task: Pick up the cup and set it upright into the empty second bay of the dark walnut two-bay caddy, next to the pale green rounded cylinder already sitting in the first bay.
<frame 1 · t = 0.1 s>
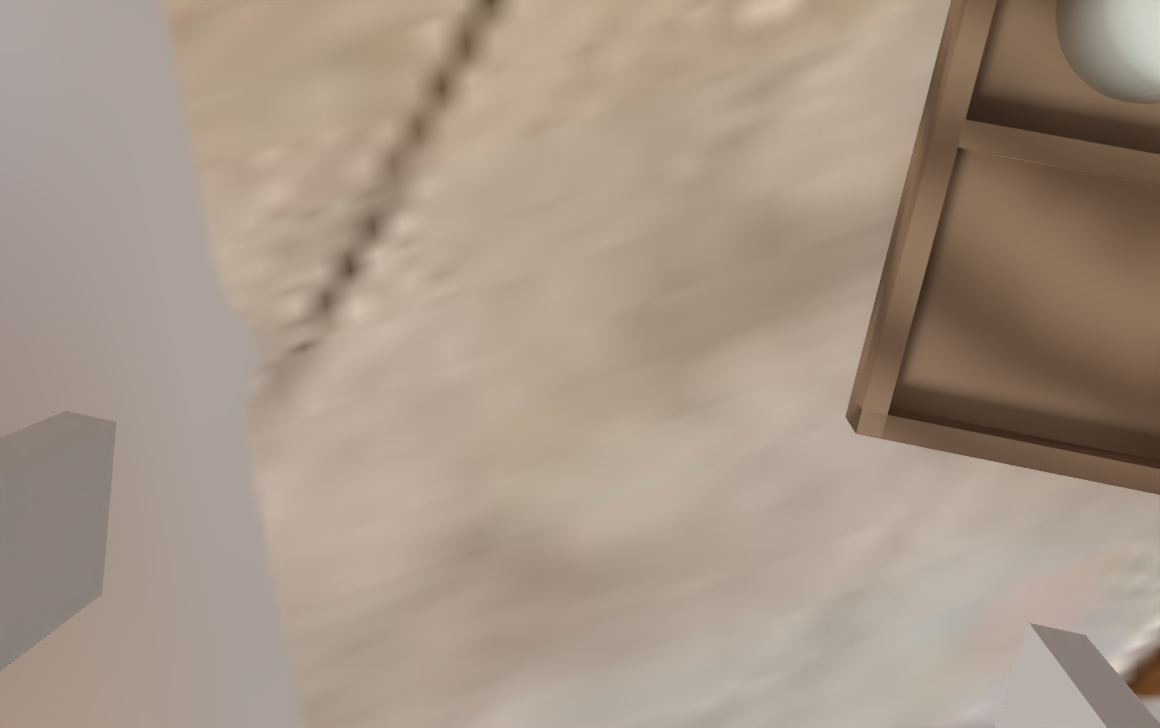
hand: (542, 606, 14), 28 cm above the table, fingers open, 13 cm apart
pale green rounded cylinder: (1155, 5, 35), point 1 cm above the table, touching caddy
caddy: (1097, 162, 38), on the table
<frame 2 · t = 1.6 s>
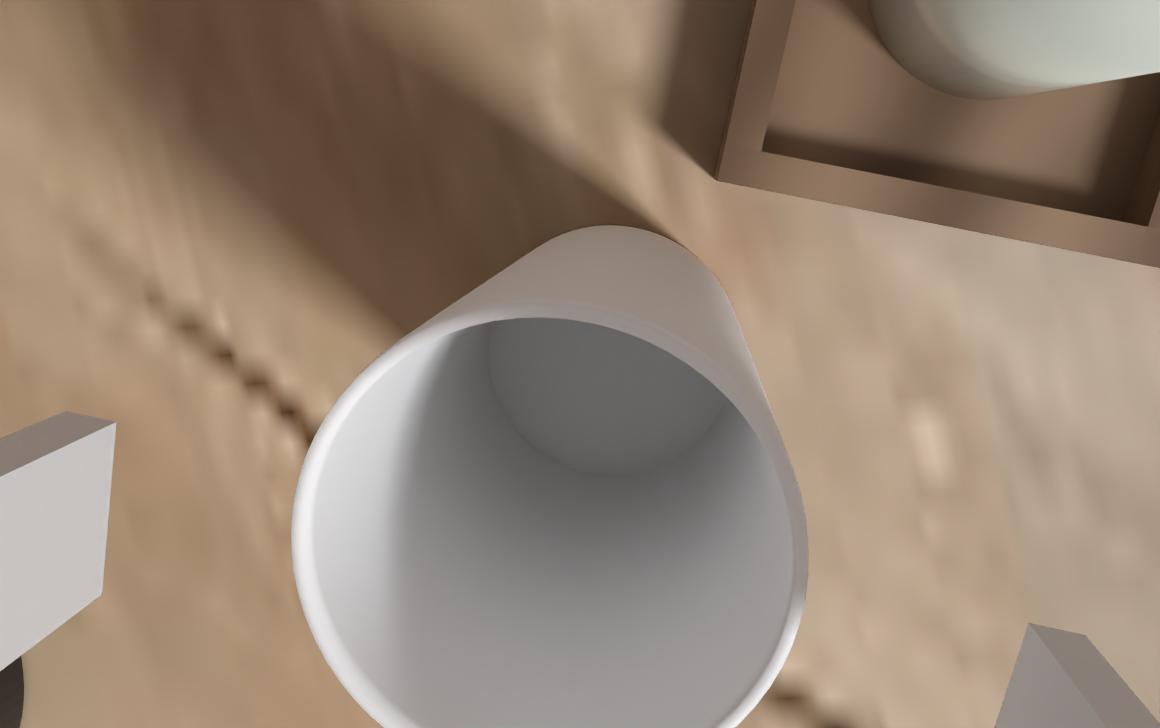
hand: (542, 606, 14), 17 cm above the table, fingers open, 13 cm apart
cup: (610, 354, 31), on the table
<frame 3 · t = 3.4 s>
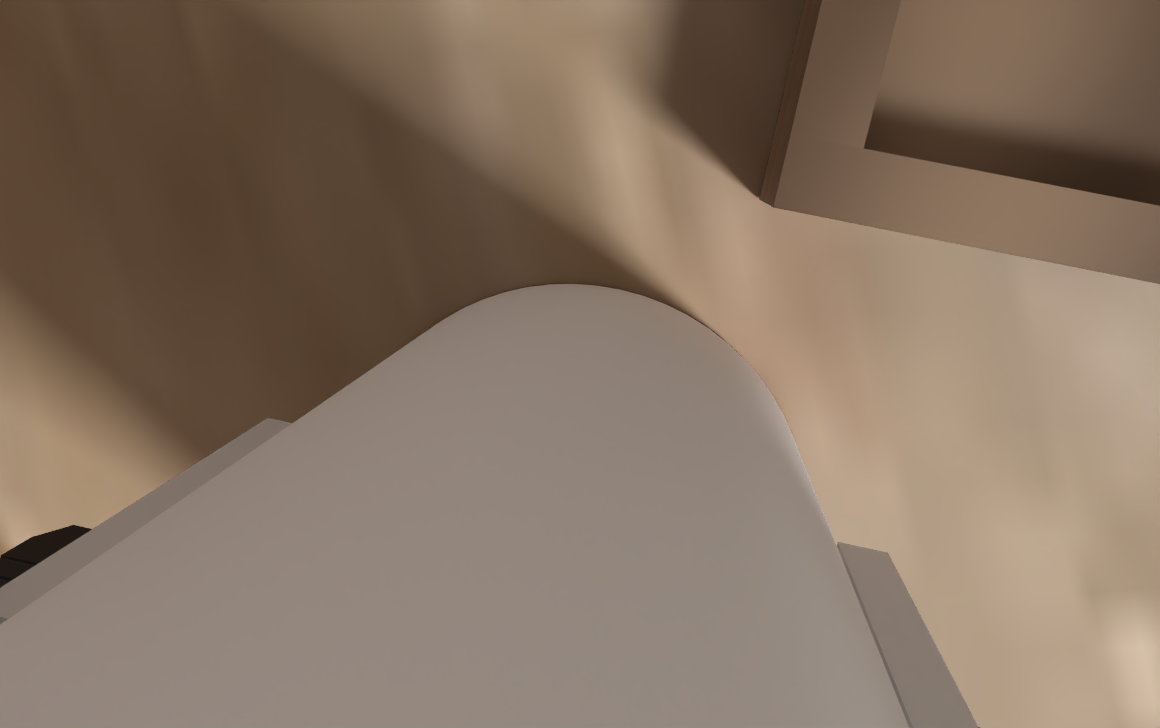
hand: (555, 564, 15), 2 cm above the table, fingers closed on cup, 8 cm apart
cup: (572, 507, 17), on the table, touching gripper
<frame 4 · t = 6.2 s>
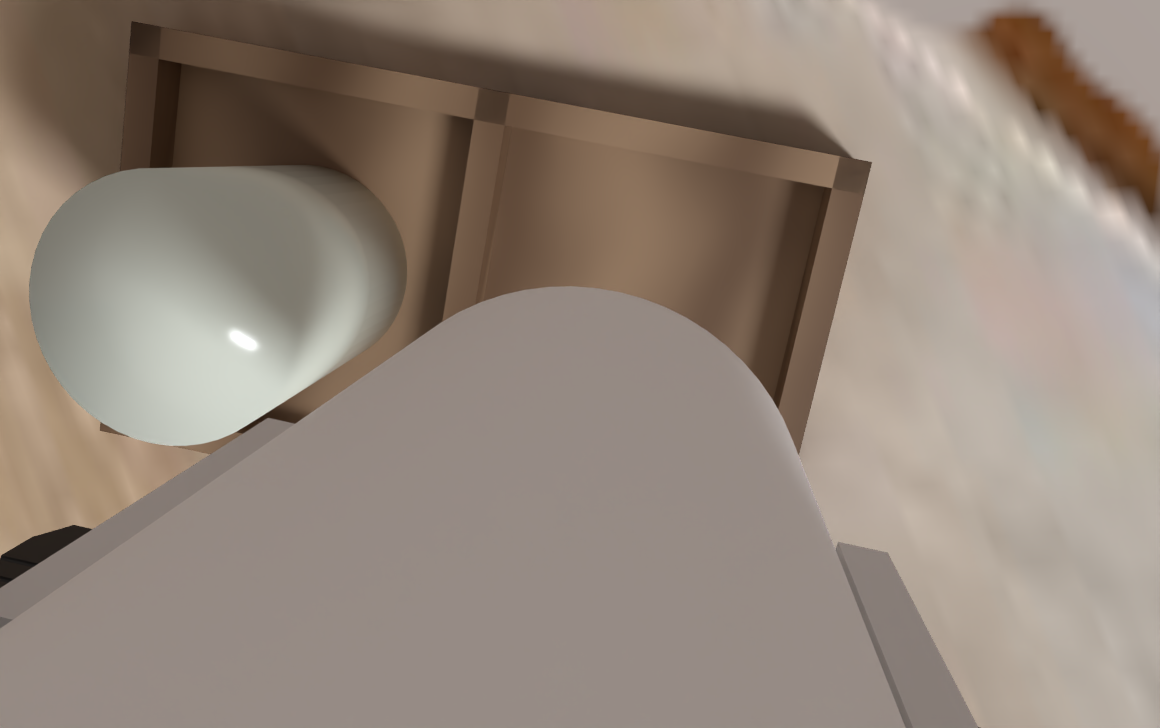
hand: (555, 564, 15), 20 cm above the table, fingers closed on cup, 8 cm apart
cup: (571, 510, 17), point 17 cm above the table, touching gripper
pale green rounded cylinder: (309, 266, 34), point 1 cm above the table, touching caddy
caddy: (474, 295, 34), on the table
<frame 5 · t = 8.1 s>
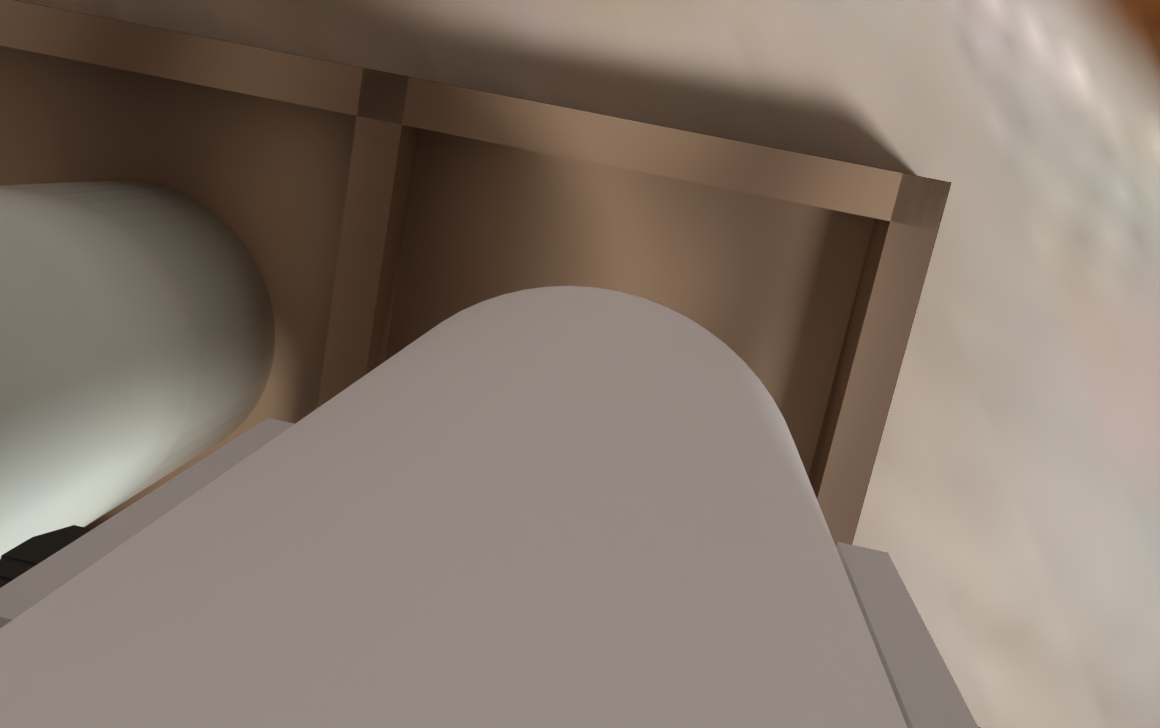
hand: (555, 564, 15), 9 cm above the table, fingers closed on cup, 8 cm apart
cup: (572, 510, 17), point 7 cm above the table, touching gripper
pale green rounded cylinder: (137, 324, 24), point 1 cm above the table, touching caddy
caddy: (375, 363, 24), on the table
when the fingers open (5 cm above the table, at t = 9.4 s): cup drops 2 cm, resting on caddy.
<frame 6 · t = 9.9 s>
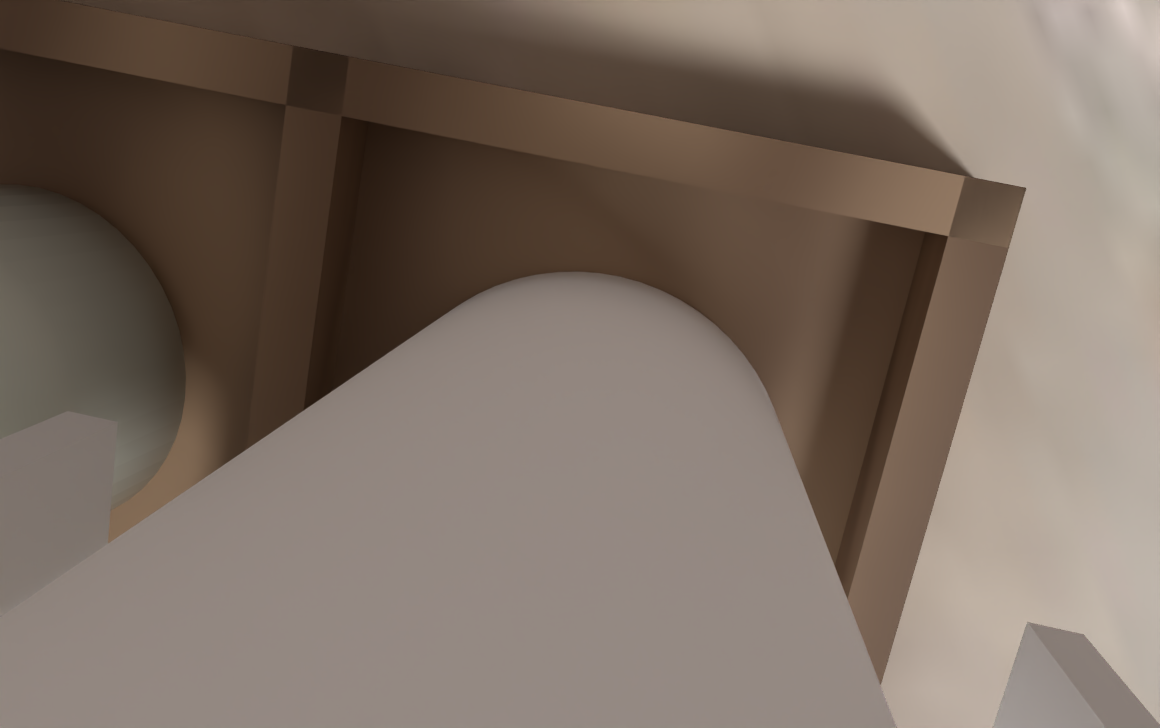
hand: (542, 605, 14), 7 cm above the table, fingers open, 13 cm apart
cup: (576, 473, 19), point 1 cm above the table, touching caddy
pale green rounded cylinder: (27, 359, 20), point 1 cm above the table, touching caddy, gripper
caddy: (321, 402, 20), on the table
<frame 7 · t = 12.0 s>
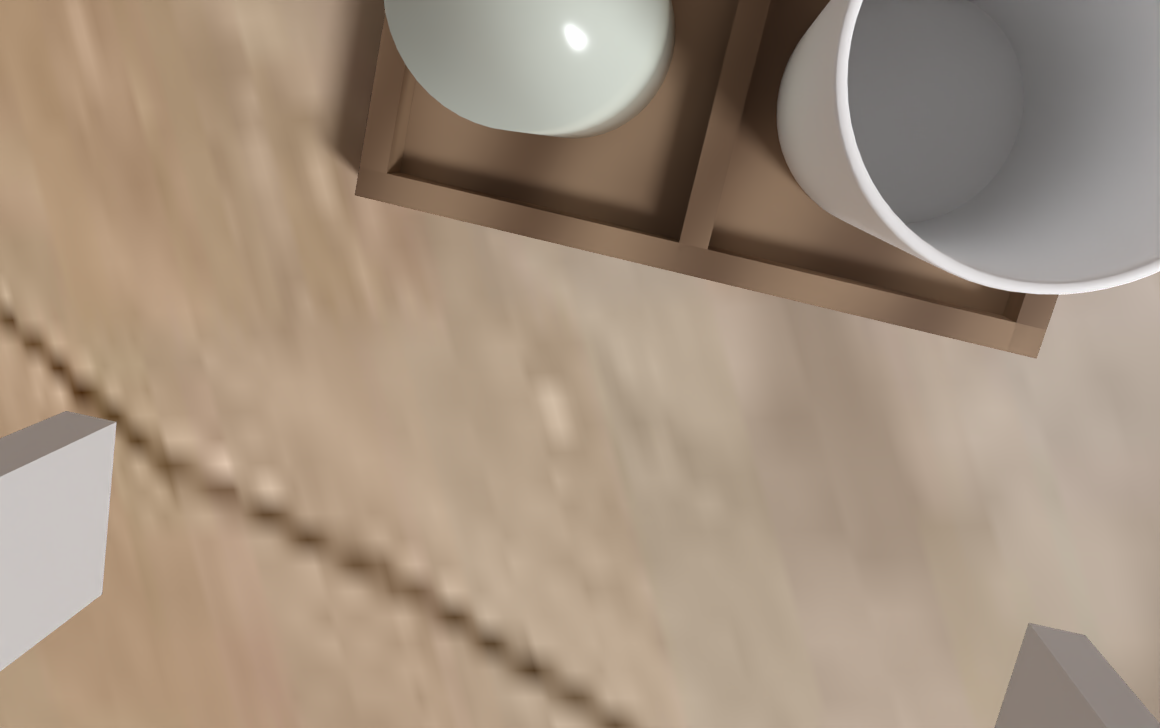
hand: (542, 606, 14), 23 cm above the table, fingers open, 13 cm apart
cup: (899, 109, 33), point 1 cm above the table, touching caddy
pale green rounded cylinder: (574, 34, 33), point 1 cm above the table, touching caddy
caddy: (736, 73, 34), on the table
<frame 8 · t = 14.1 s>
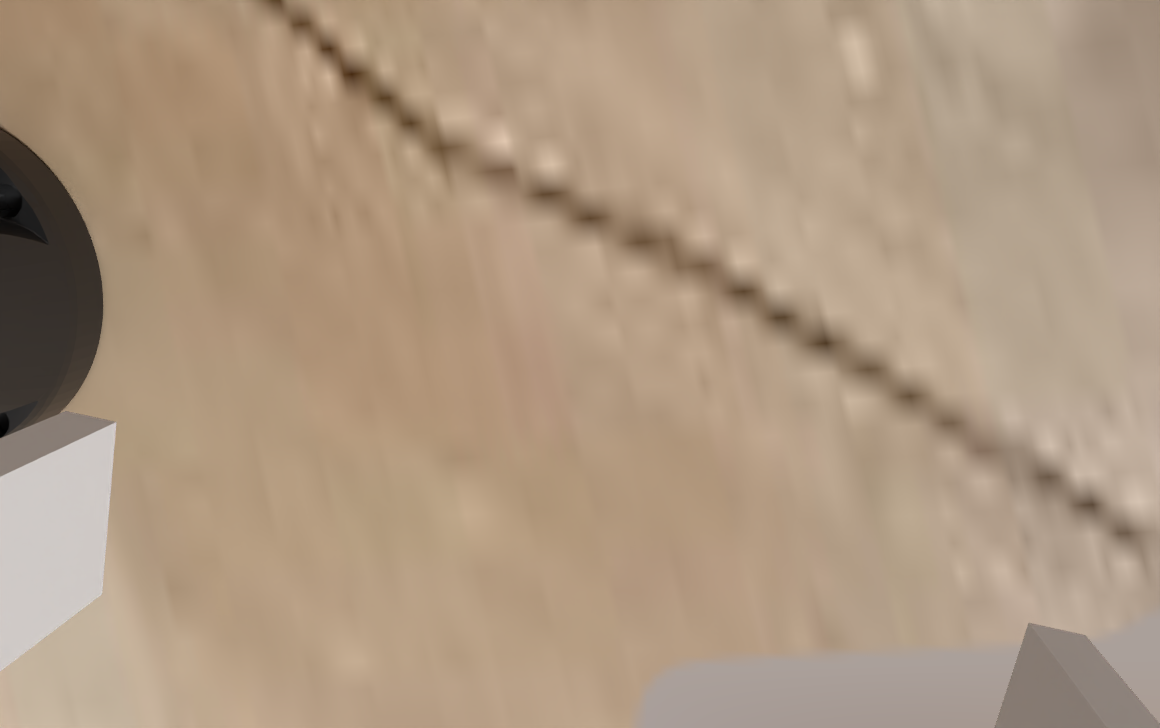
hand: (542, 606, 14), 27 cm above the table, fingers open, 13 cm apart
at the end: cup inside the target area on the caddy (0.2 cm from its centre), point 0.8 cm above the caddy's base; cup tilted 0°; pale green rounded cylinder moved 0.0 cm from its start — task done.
